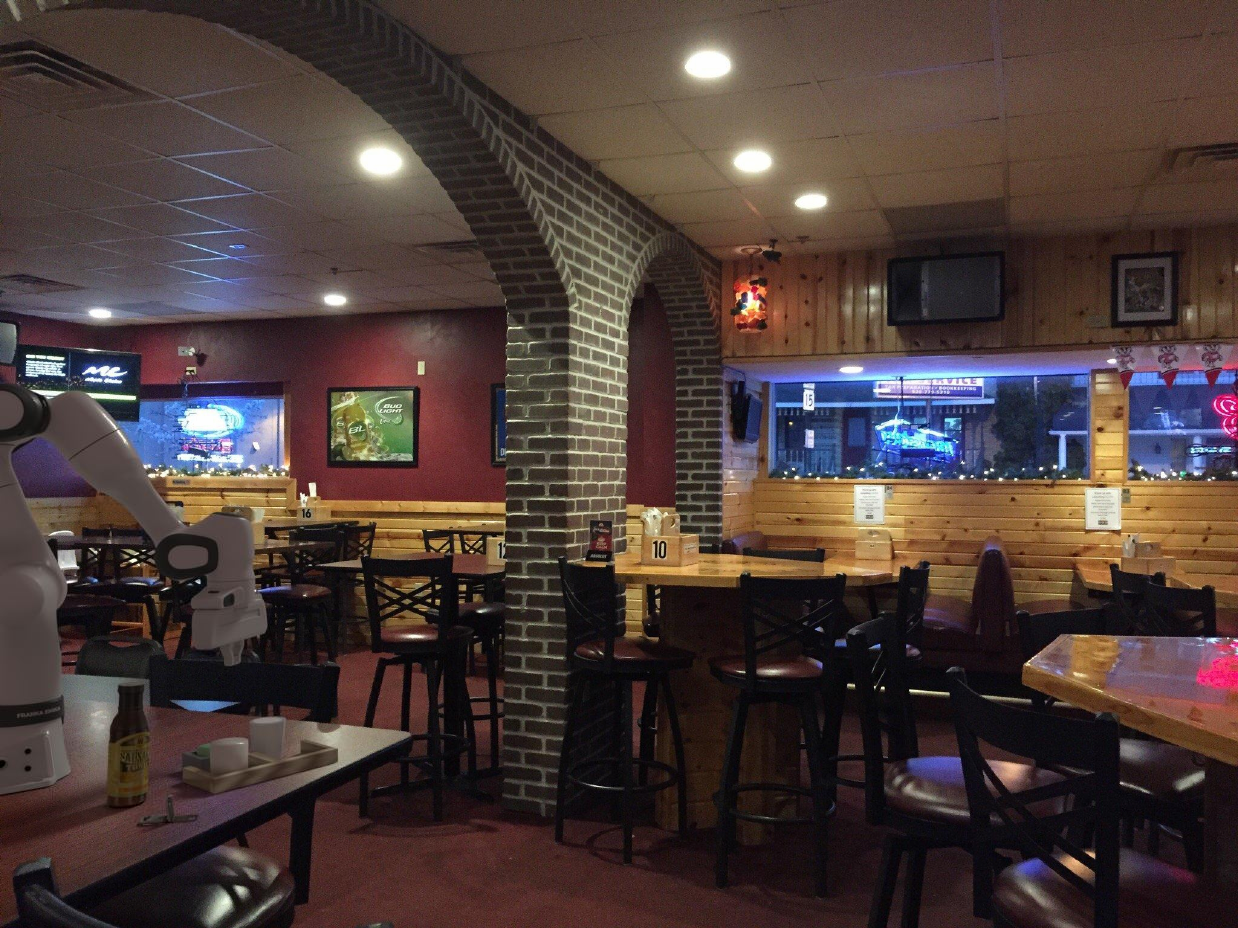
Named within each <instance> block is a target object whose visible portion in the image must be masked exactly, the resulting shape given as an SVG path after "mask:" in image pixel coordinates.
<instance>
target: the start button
mask: <svg viewBox="0 0 1238 928" xmlns="http://www.w3.org/2000/svg"><path fill="white" fill-rule="evenodd" d="M210 743H211V742H208V743H204V744H200V745H197V746H196V750H197V755H198V756H201V757H208V756H210Z"/></svg>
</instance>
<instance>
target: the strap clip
mask: <svg viewBox="0 0 1238 928" xmlns="http://www.w3.org/2000/svg"><path fill="white" fill-rule="evenodd" d="M174 810H175V809H174V803H173V794H168V796H167V797H166V799H165V811H166V813H162V814H159V813H158V814H150V815H145V816H142V817H141V818H140V820H139V822H138V826H139V825H143V824H158V825H162V824H161V823H163V824H166V823H165V821H166V820H167V821H166V822H169V823H171V822H173V823H172V824H181V822H184V823H192V822H193V821H194V822H197V821H198V819H199V816H200V814H186V815H185V814H184V815H175V812H174ZM191 817H195V819H191ZM167 818H168V819H167ZM147 819H149V820H147ZM143 820H146V821H143ZM179 822H180V823H179Z"/></svg>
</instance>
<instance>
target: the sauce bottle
mask: <svg viewBox="0 0 1238 928" xmlns="http://www.w3.org/2000/svg"><path fill="white" fill-rule="evenodd" d="M144 692H145V682H143V681H129V682H128V681H127V682H121V683H118V685H117V693H118V706H117V713H116V714H115V716H114V717H113V719H112V721H111V723H110V725H109V740H108V749H107V750H108V752H107V753H108V755H107V772H106V773H107V776H106V795H107V796H106V797H107V798H106V803H107V805H108V806H110V807H114V808H123V807H124V808H125V806H126V807H133V806H137V805H140V804H141V802H142V803H143V801H144V802H146V800H147V793H148V790H149V768H150V767H149V766H150V765H149V763H150V758H149V757H150V740H151V739H150V737H151V736H150V735H151V733H150V728H149V723H148V719H147V717H146V714H145V711H144V704H143V703H144ZM136 804H137V805H136Z"/></svg>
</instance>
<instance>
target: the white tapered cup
mask: <svg viewBox="0 0 1238 928" xmlns="http://www.w3.org/2000/svg"><path fill="white" fill-rule="evenodd" d="M286 723H287V718H286V717H284V716H278V715H277V716H275V715H273V716H272V715H271V716H262V717H256V718H254V719H251V720H249V732H250V742H251V752H253V751H255V752H259V753H262V754H265V755H268V756H272V757H275V758H277V757H278V758H280V757H282V756H283V755H284V745H285V736H286V735H285V734H286V727H287V726H286V725H287V724H286Z"/></svg>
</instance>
